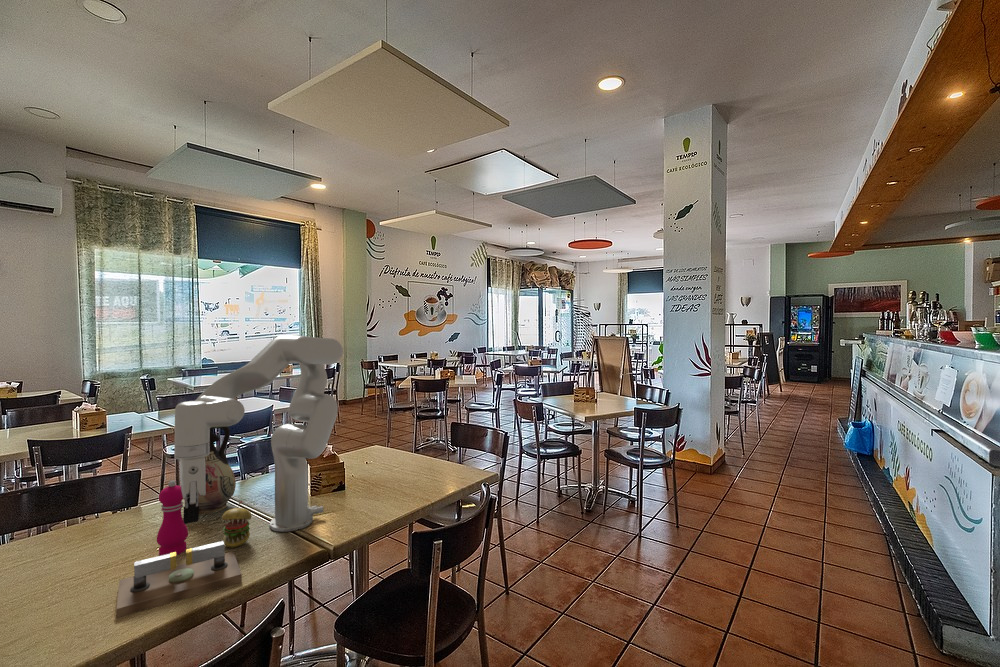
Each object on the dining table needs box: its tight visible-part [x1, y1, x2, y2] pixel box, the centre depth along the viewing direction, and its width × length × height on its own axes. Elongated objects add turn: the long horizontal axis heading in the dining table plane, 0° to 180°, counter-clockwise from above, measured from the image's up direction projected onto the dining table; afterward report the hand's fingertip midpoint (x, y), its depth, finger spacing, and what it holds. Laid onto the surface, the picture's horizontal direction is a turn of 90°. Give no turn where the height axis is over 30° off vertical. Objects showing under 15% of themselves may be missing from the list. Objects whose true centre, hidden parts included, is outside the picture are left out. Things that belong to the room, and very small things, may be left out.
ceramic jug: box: [183, 426, 237, 516], centre depth 160 cm, size 17×15×30 cm
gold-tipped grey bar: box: [185, 540, 225, 567], centre depth 118 cm, size 8×2×6 cm, turn 127°
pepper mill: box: [156, 480, 189, 556], centre depth 131 cm, size 7×7×20 cm
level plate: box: [116, 551, 243, 619], centre depth 115 cm, size 24×14×3 cm, turn 127°
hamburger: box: [221, 499, 252, 549], centre depth 136 cm, size 8×7×12 cm
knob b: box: [132, 552, 178, 589], centre depth 112 cm, size 8×2×6 cm, turn 127°
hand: (191, 521), depth 121 cm, fingers closed
